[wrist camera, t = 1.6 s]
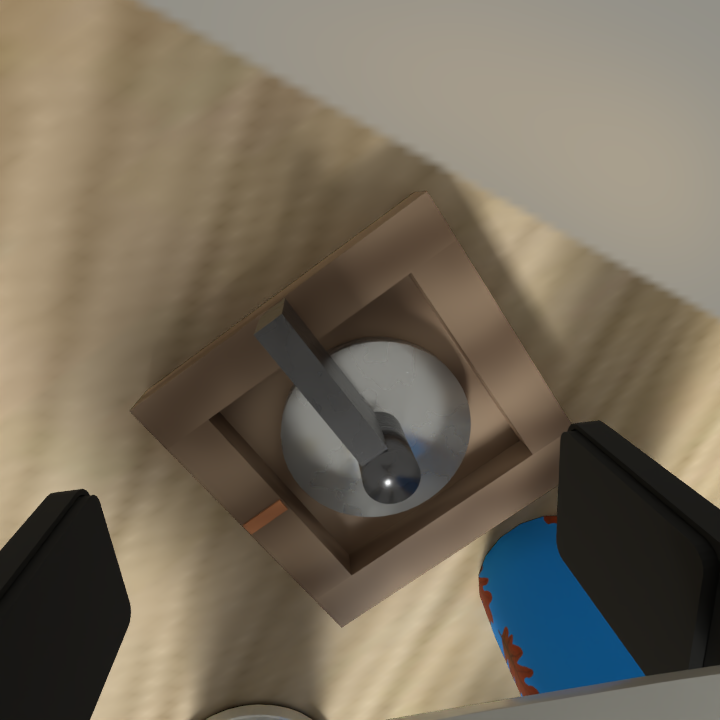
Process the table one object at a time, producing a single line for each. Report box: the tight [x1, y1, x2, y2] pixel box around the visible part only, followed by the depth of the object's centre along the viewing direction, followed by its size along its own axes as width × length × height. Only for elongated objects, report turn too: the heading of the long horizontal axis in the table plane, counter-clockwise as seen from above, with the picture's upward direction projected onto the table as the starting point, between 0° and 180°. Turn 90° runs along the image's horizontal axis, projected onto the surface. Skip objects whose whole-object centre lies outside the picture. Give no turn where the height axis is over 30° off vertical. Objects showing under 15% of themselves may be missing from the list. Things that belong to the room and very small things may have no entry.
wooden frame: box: [130, 191, 571, 627], centre depth 31 cm, size 20×20×3 cm
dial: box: [254, 298, 471, 517], centre depth 28 cm, size 16×12×6 cm
